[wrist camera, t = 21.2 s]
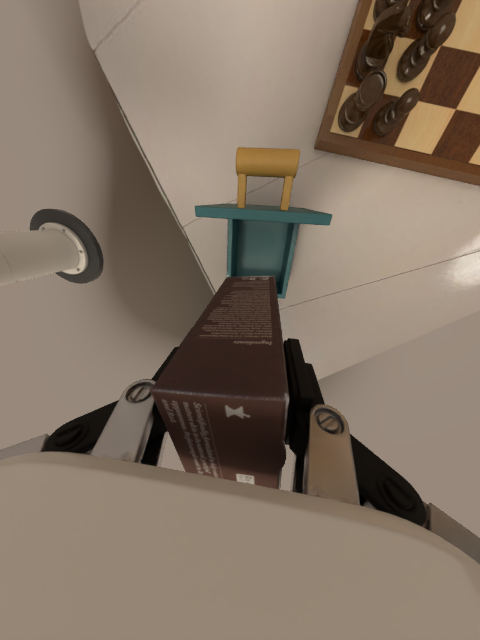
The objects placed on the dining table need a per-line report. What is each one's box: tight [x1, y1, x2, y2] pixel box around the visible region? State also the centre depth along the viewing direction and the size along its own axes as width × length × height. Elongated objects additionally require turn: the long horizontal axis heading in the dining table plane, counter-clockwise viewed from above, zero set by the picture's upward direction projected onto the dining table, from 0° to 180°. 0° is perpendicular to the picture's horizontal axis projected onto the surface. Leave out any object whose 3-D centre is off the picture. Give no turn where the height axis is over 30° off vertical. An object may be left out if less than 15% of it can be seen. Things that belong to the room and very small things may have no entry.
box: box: [150, 276, 289, 489], centre depth 11 cm, size 6×4×12 cm
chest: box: [227, 219, 299, 299], centre depth 36 cm, size 15×12×9 cm
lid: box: [195, 147, 332, 225], centre depth 21 cm, size 15×12×5 cm
